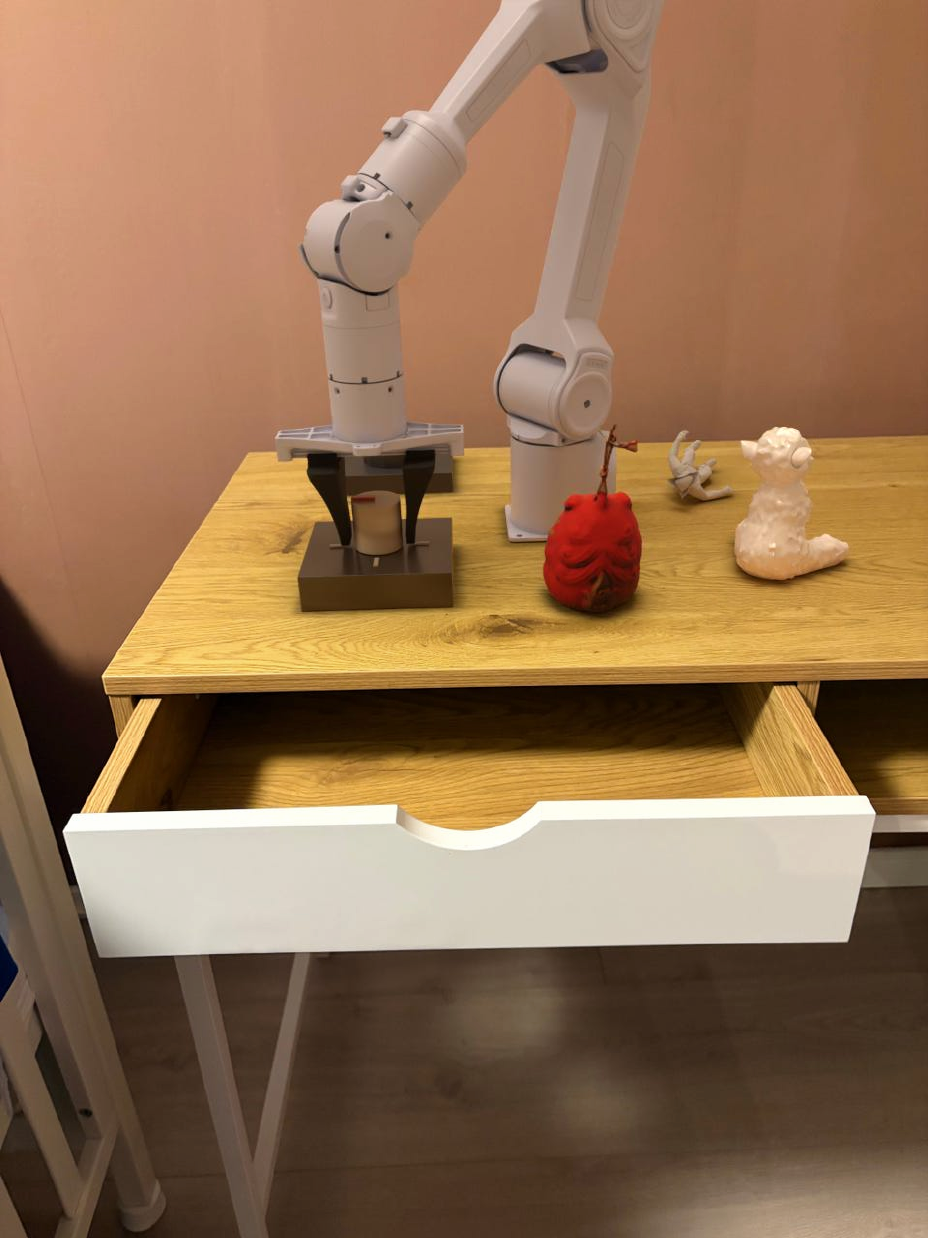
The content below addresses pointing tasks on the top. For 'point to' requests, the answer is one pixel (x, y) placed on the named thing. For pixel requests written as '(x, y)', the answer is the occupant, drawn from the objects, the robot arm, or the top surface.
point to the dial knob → (377, 522)
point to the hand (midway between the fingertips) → (378, 539)
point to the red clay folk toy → (595, 546)
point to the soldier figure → (691, 472)
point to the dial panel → (378, 571)
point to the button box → (393, 474)
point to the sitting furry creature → (782, 512)
